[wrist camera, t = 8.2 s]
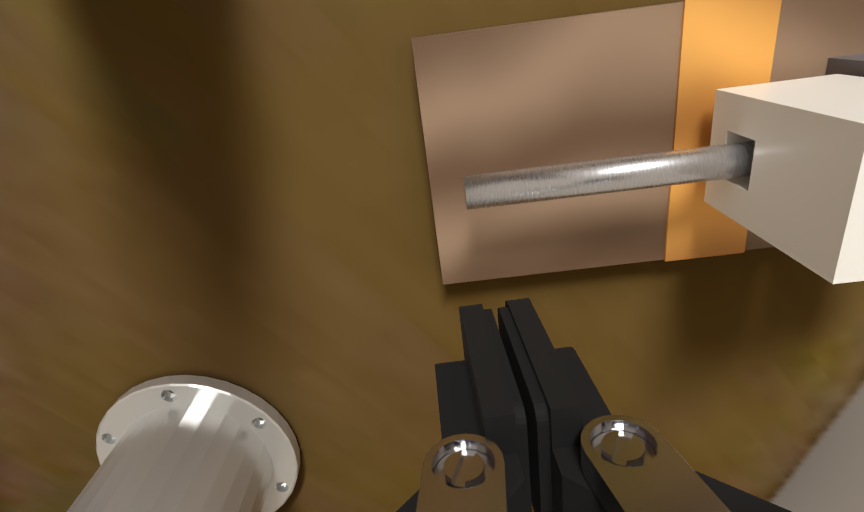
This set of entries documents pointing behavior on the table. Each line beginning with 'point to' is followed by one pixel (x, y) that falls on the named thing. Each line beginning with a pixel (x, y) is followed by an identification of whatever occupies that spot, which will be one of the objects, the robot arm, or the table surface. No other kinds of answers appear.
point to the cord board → (602, 123)
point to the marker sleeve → (798, 169)
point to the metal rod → (609, 175)
